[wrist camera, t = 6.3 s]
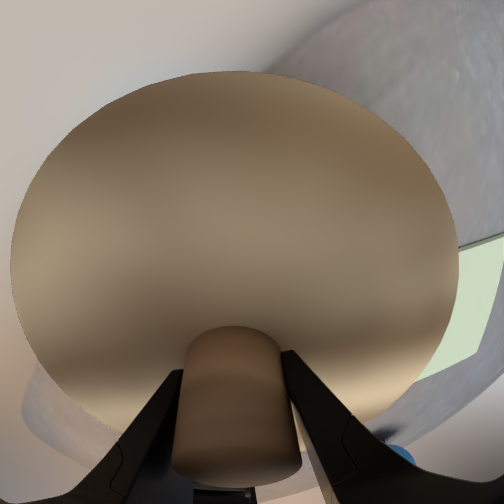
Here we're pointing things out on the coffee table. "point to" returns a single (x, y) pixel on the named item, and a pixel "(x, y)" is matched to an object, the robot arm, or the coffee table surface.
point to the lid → (233, 263)
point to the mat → (470, 303)
